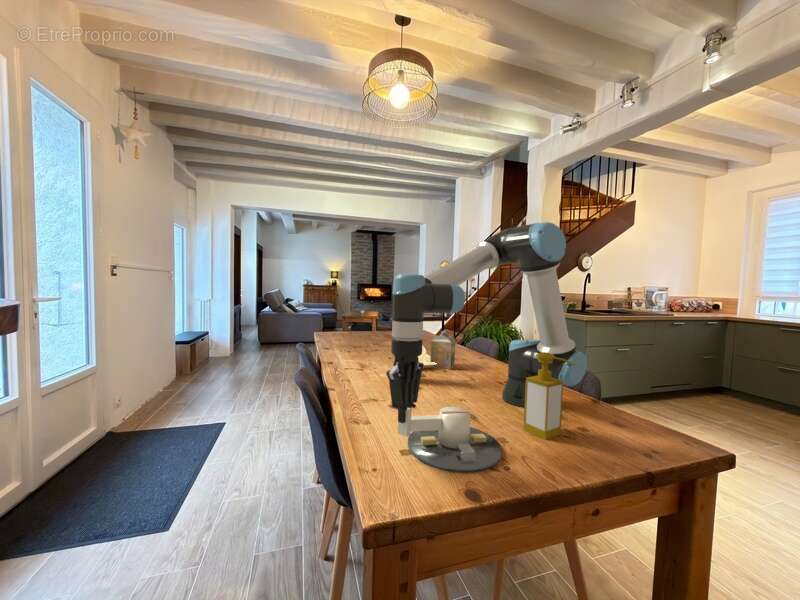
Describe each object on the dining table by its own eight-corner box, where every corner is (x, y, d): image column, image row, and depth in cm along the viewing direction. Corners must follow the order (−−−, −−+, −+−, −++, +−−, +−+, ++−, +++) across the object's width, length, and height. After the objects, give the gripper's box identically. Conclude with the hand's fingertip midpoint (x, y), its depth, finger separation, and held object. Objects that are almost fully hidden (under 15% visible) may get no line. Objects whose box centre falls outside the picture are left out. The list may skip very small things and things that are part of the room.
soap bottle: (564, 448, 86) (568, 359, 85) (523, 429, 97) (527, 351, 96) (579, 442, 90) (584, 357, 89) (538, 425, 101) (542, 349, 100)
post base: (478, 425, 99) (478, 413, 99) (520, 468, 76) (521, 453, 76) (400, 428, 95) (400, 415, 95) (419, 475, 72) (419, 459, 72)
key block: (478, 432, 91) (479, 405, 91) (491, 446, 83) (492, 416, 83) (402, 436, 87) (403, 407, 87) (408, 451, 79) (409, 419, 79)
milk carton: (450, 370, 165) (451, 332, 165) (430, 367, 169) (431, 331, 168) (454, 365, 175) (455, 330, 174) (435, 363, 179) (436, 328, 178)
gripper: (409, 333, 87) (406, 421, 88) (378, 339, 76) (375, 439, 77) (433, 337, 82) (430, 429, 83) (404, 343, 72) (401, 449, 73)
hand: (404, 433), depth 80 cm, fingers closed
